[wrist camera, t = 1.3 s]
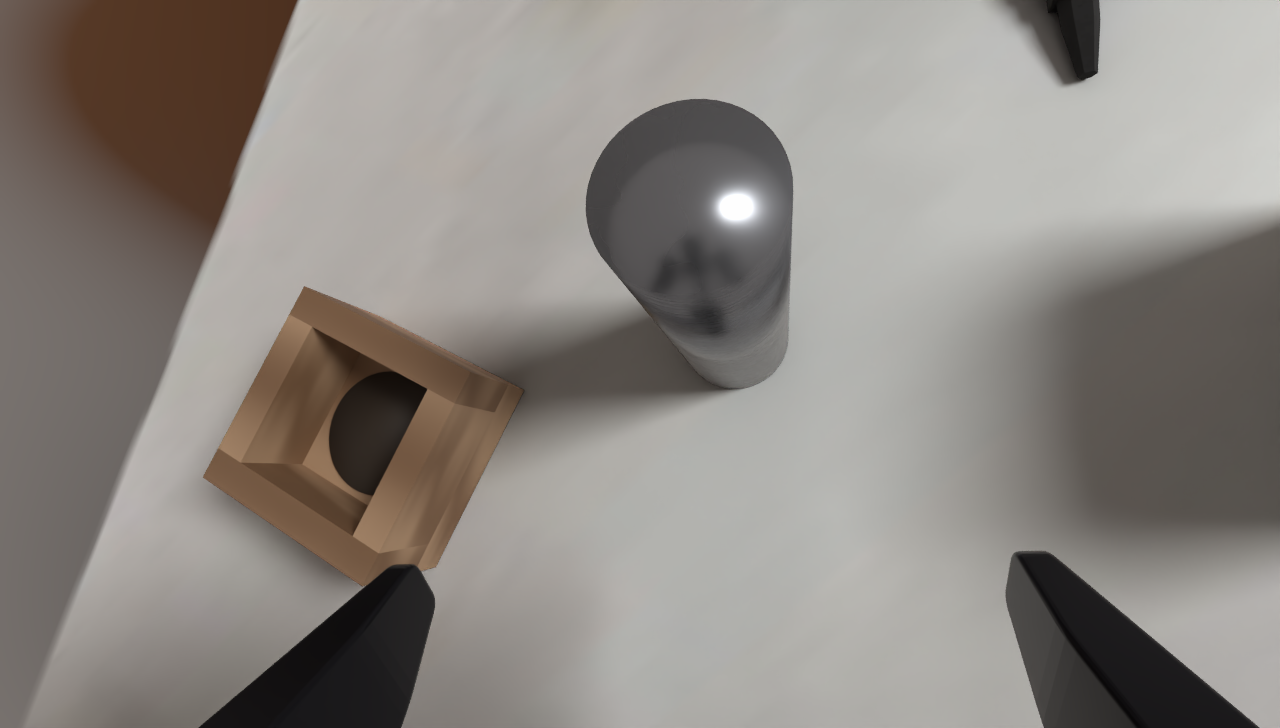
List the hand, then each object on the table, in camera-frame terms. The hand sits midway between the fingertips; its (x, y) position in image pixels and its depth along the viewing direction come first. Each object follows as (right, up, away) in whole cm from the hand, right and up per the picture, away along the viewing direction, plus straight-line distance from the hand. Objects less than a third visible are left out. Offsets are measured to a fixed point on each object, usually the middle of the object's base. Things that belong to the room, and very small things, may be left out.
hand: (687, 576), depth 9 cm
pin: (+3, +4, +14) cm, 15 cm away
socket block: (-11, 0, +17) cm, 20 cm away
